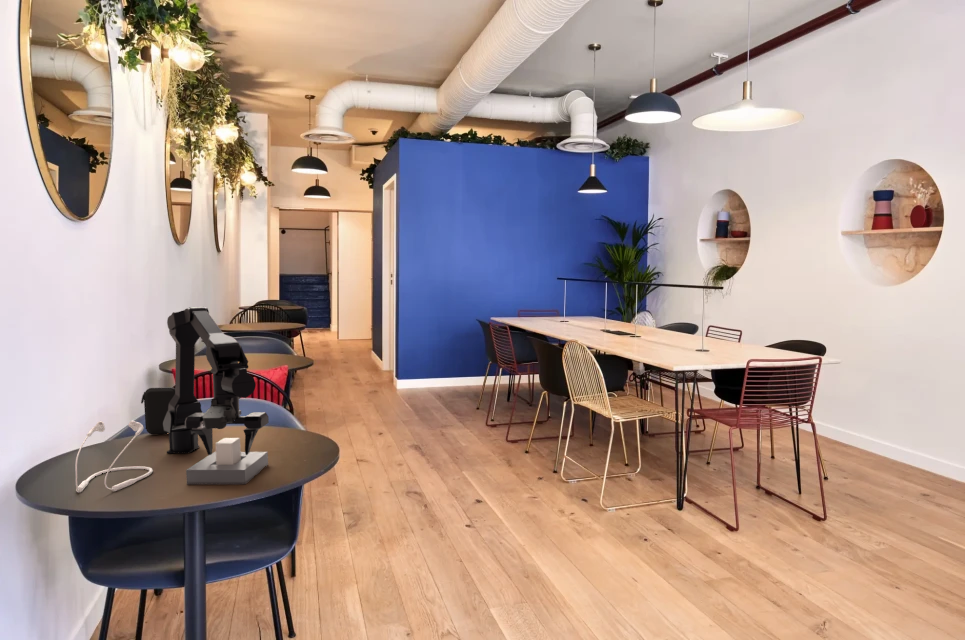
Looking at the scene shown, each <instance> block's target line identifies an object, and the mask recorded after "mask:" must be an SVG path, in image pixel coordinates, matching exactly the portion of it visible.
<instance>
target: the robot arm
mask: <svg viewBox="0 0 965 640" xmlns="http://www.w3.org/2000/svg"><path fill="white" fill-rule="evenodd" d="M166 324H167V328H168V330H169V335H170V337H171V338H172V340H173V341H174V342H175V379H174V381H175V382H174V383H175V388H174V389H175V395H174V396H173V398H172V399H171V401H170V402H169V406H168V411H167V413H166V416H165V419H164V421H163V427H164V431H167V432H169V434H168V441H169V442H168V443H169V450H167V451H166V454H190V453H192V452H194V451H196V450H197V449H199V448H200V445H199V438H200V439H201V441H202V444H203V445H204V448H205V450H206V452H207V456H209V455H211V454H212V453H213V447H214V446H213V445H214V444H213V440H214V439H213V429H217V430H222V429H225V428H226V426H227V425H244V426H245V428H244V429H243V433H244V436H245V437H244V438H245V439H244V452H245V454H246V455H248V454H249V452H251V449H252V445H253V443H254V440H255V438H256V435H257V434H258V432H259V430H260V429H262V428H263V427H264V426H266V425H268V424H270V423H269V422H270V421H269V415H268V413H267V412H265V411H264V412H258V411H256V412H253V411H252V412H251V413H249V414H247V415H246V416H245V415H243V416H241V415H242V410H241V409H240V399H242V398H248V397H249V396H251V395H252V394H253V393H254V391H255V389H256V384H257V383H256V380H255V378H254V376H252V375H251V374H249V373H248V369H249V364H248V363H249V360H248V358H247V356H246V354H245V352H244V350H243V348H242V346H241V345H240V343H239V342H238V340H236V339H235V338H234V337H233V336H230V335H228V334H225V333H224V332H223V331H222V329H221V328H220V327H219V326H218V324H217V323H216V322H215V319H213V317H212V316H211V315H210V312H209V308H208V307H206V306H193V307H192V306H190V307H188V308H185V309H183V310H181V311H175V312H172V313H171V315H169V316H168V317H167V322H166ZM199 339H201V340H202V342H203V343H204V345H205V347H206V351H205V357H206V360H207V362H208V363H209V365H210V367H211V370H210V373H212V385H213V387H212V388H213V397H212V398H211V400H210V406H209V408H208V409H206V411H205V412H203V411H202V403H201V402H200V401H199V400H198V399H197V397H196V395H195V367H196V366H195V361H196V359H195V358H196V353H195V352H196V344H197V342H198V341H199ZM198 447H199V448H198ZM195 449H196V450H195ZM193 450H194V451H193Z"/></svg>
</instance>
